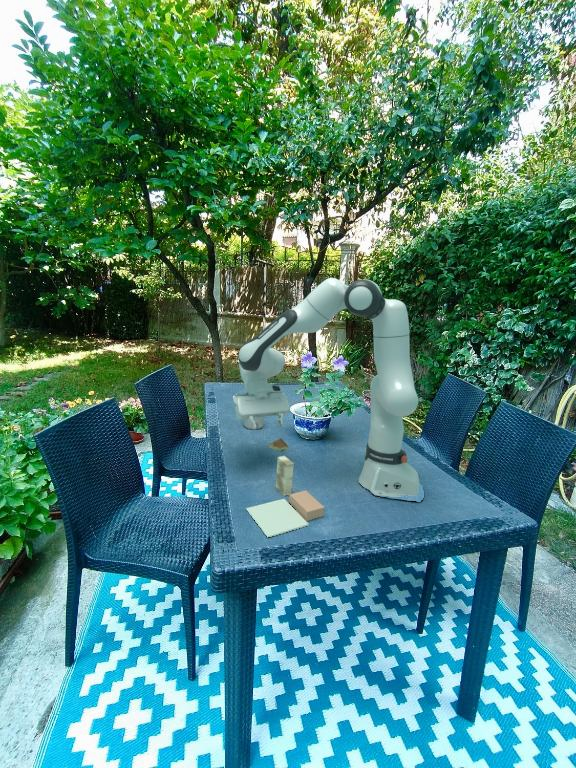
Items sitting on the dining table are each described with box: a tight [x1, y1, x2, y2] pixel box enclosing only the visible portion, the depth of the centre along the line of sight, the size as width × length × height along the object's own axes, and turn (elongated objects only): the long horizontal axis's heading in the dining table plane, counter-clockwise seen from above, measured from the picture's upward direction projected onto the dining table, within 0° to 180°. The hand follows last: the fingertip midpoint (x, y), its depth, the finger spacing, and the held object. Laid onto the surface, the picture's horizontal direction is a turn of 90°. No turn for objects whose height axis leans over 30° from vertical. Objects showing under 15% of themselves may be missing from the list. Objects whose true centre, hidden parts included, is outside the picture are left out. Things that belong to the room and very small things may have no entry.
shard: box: [268, 437, 289, 452], centre depth 151 cm, size 11×8×2 cm
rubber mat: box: [245, 498, 310, 539], centre depth 101 cm, size 14×13×1 cm
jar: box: [243, 417, 265, 431], centre depth 169 cm, size 10×10×18 cm
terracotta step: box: [288, 490, 325, 522], centre depth 106 cm, size 10×6×3 cm, turn 30°
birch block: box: [275, 455, 295, 497], centre depth 115 cm, size 6×2×11 cm, turn 30°
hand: (268, 427), depth 122 cm, fingers open, 8 cm apart
